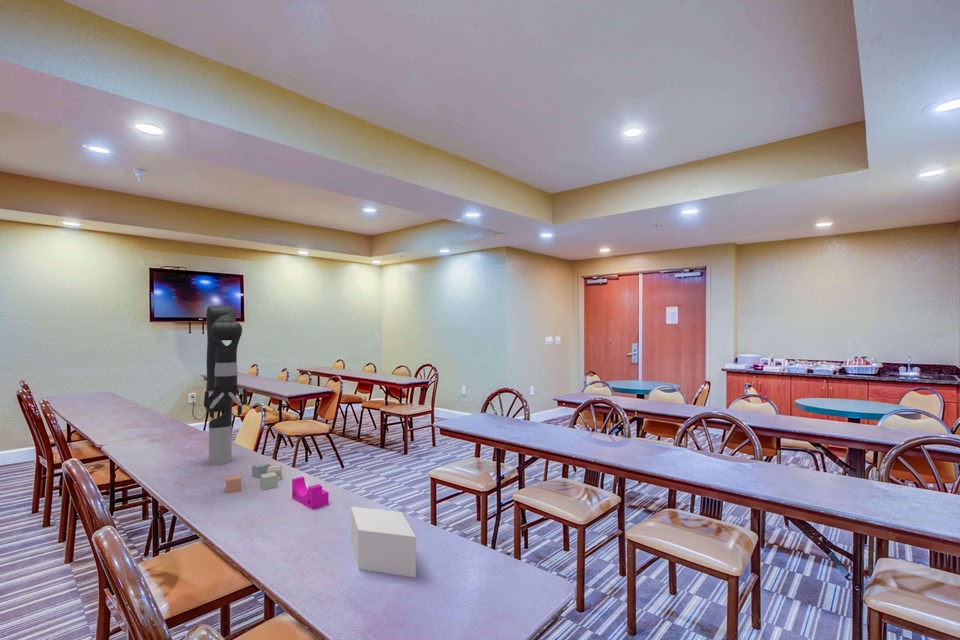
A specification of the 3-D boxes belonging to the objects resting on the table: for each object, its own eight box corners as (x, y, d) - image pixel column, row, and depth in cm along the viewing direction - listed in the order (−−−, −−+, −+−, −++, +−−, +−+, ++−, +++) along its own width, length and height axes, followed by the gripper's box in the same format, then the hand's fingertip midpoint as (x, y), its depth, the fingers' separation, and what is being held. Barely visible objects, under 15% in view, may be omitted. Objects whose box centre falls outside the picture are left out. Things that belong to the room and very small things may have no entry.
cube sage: (260, 487, 174) (260, 474, 174) (273, 484, 177) (273, 471, 177) (264, 490, 170) (264, 478, 170) (277, 487, 173) (277, 475, 173)
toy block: (328, 504, 157) (328, 483, 157) (311, 510, 152) (312, 488, 152) (308, 494, 167) (308, 474, 167) (291, 499, 162) (292, 478, 162)
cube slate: (252, 477, 186) (252, 465, 186) (263, 473, 190) (263, 462, 190) (258, 479, 183) (258, 467, 183) (270, 475, 187) (270, 464, 187)
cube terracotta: (225, 489, 171) (225, 477, 171) (240, 487, 174) (240, 474, 174) (226, 493, 167) (226, 480, 167) (241, 491, 170) (241, 478, 170)
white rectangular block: (371, 532, 135) (371, 499, 136) (436, 565, 117) (436, 526, 117) (328, 550, 124) (328, 514, 125) (393, 590, 106) (393, 548, 106)
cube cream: (268, 478, 183) (268, 466, 183) (281, 477, 185) (281, 465, 185) (266, 482, 179) (266, 470, 179) (279, 481, 180) (280, 469, 180)
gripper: (246, 372, 174) (246, 413, 174) (203, 374, 166) (203, 417, 166) (248, 374, 168) (247, 416, 167) (204, 376, 160) (203, 420, 160)
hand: (225, 416), depth 167 cm, fingers open, 8 cm apart
